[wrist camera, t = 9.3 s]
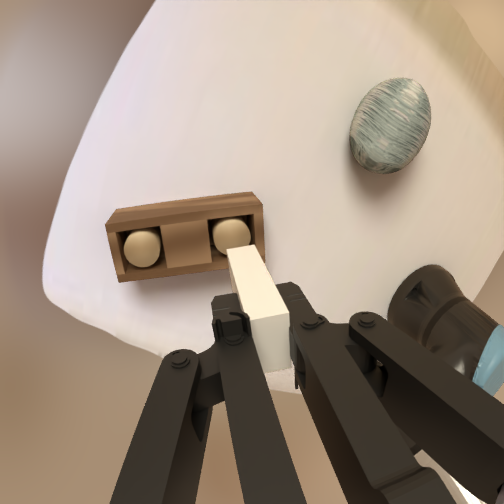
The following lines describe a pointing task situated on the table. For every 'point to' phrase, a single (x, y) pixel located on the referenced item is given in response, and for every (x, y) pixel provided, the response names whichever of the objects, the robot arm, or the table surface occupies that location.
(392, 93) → the grey green ridged egg
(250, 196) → the walnut block
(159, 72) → the table surface
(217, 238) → the peg right
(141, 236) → the peg left
